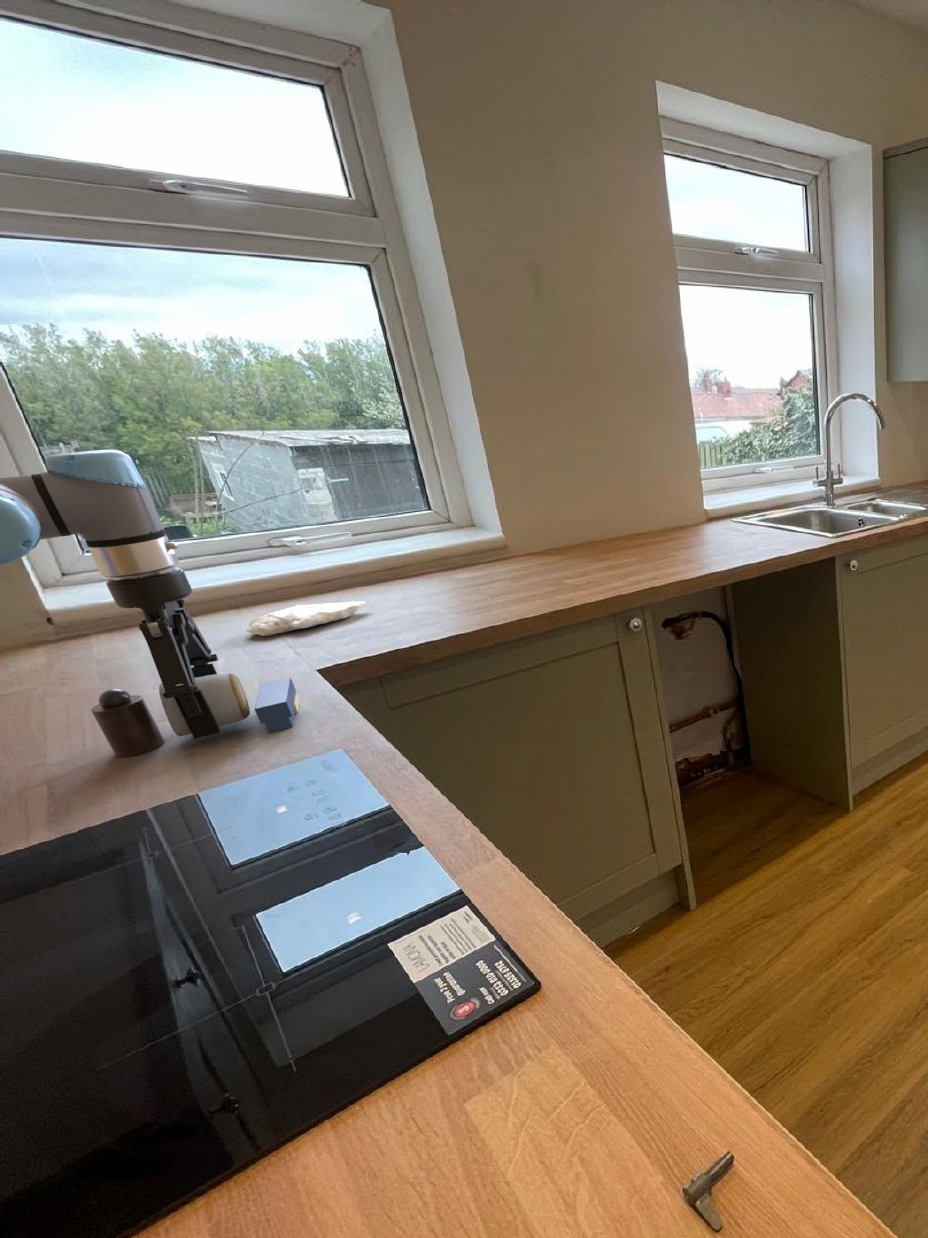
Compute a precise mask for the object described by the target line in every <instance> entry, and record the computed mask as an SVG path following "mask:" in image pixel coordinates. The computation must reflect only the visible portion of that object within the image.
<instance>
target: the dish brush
mask: <svg viewBox="0 0 928 1238" xmlns="http://www.w3.org/2000/svg"><path fill="white" fill-rule="evenodd" d="M300 702H301V700H300V697H299V694H298V692H297V689H296V688H295V685H294V681H293V680H292V677H285V678H281V679H277V680H272V681H267V682H263V683H261V684H260V688H259V691H258V694H257V699H256V702H255V706H254V711H255V714H256V717H257V718H258V720H259V723H260V725H263V724H264V725H265V727H266V730H267V732H268V733H270V734H271V733H274V732H278V731H283V730H286V729H291V728H293V727H294V722H295V715H296V714H299V708H300Z"/></svg>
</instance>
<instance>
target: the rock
mask: <svg viewBox="0 0 928 1238" xmlns="http://www.w3.org/2000/svg"><path fill="white" fill-rule="evenodd" d="M365 604H366V601H363V600H361V601H355V600H354V601H353V600H352V601H351V600H350V601H345V602H344V601H343V602H327V603H312V604H296V605H294V606H291V607H287V608H284V609H281V610H277V611H273V612H270V613H267V614H264V615H261V616H259V617H257V618H254V619H253V620H251V621H250V622H249V623H248V627H247V628H246V632H247V633H249V634H254V635H259V636H263V637H268V636H269V637H270V636H273V635H278V634H283V633H288V632H292V631H295V630H303V629H308V628H312V627H315V626H318V625H323V624H324V625H325V624H327V623H328V624H329V623H331V622H335V621H340V620H343V619H347V618H349V617H351V616H353V615H355V614H356V613H357V612H358V611H359V610H360V609H361V607H363V606H364V605H365Z"/></svg>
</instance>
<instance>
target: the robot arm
mask: <svg viewBox="0 0 928 1238" xmlns="http://www.w3.org/2000/svg"><path fill="white" fill-rule="evenodd" d="M45 463H46V466H47V467H46V470H47V471H44V472H39V473H32V474H30V475H20V476H19V475H18V476H8V477H0V565H1V566H2V565H6V564H9V563H10V564H11V563H13V562H16V561H18V560H20V559H21V558H23V557H25V556H28V554H29V553H30V552H31V551H32V550H34V549H35V548H37V546H38V544H39V543H40V541H41V540H47V539H53V538H60V537H68V536H73V535H81V536H82V538H83V539H84V542H85V544H86V547H87V548H88V550H89V553H90V555H91V557H92V559H93V561H94V563H95V565H96V568H97V569H98V572H99V573H100V575H101V576H102V577H105V578H108V579H107V582H106V583H105V585H106V587H107V588H108V590H109V593H110V595H111V597H112V599H113V601H114V604H115V605H116V606H117V607H119V608H122V609H140V610H141V611H142V614H143V617H144V618H143V619H141V623H139V624H138V629H139V630H140V631H141V633H142V636H143V638H144V639H145V641H146V643H147V646H148V647H147V648H148V649H149V651H150V655H151V657H152V660H153V663H154V665H155V668H156V671H157V673H158V676H159V679H160V681H161V683H162V684H163V687H164V689H165V693H163V696H164V698H165V699H167V698H172V697H174V699H175V701H176V703H177V705H178V707H179V709H180V711H181V713H182V715H183V717H184V719H185V721H186V723H187V725H188V727H189V729H190V731H191V733H192V734H191V735H192V738H193V739H195V740H196V739H201V738H204V737H207V736H213V735H217V734H220V733H221V729H220V726H219V727H218V724H217V722H216V720H215V718H214V716H213V714H212V712H211V710H210V707H209V705H208V703H207V701H206V699H205V697H204V695H203V693H202V691H201V689H198V687H197V686H196V683H195V679H194V678H197V677H203V676H209V675H214V674H218V673H217V670H216V667H215V666H214V664H213V663H214V662H218V661H219V658H218V655H217V653H213V654H212V649H211V648H210V647H209V645H208V643H207V641H206V640H205V638H204V636H203V635H202V633H201V631H200V629H199V627H198V626H197V624H196V622H195V620H194V619H193V617H192V614H191V613H190V611H189V610H188V607H187V605H186V601H185V599H186V598H188V597H189V596H191V595H192V593H193V589H192V587H191V584H190V581H189V580H188V578H187V576H186V573H185V571H184V570H183V568H180V567H178V566H177V565H178V564H179V563H180V561H179V559H178V556H177V554H176V553H175V550H178V548H179V545H178V543H177V542H175V541H171V542H169V537H168V536H167V532H166V530H165V527H164V524H163V522H162V520H161V518H160V516H159V513H158V511H157V509H156V506H155V504H154V501H153V499H152V497H151V494H150V492H149V490H148V488H147V485H146V483H145V482H144V480H143V478H142V476H141V474H140V472H139V470H138V469H137V466H136V465H135V463H134V461H133V459H132V457H131V456H130V455H129V454H126V453H125V452H123V451H121V450H117V449H100V450H99V449H97V450H85V451H74V452H65V453H56V454H51V455H48V456H47V457H46V458H45ZM178 684H184V685H180V686H176V685H178Z"/></svg>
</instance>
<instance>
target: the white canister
mask: <svg viewBox="0 0 928 1238" xmlns="http://www.w3.org/2000/svg"><path fill="white" fill-rule="evenodd" d="M194 679H195V683H196V686H197V687H198V689H201V691H202V693H203V695H204V697H205V699H206V701H207V703H208V705H209V707H210V710H211V712H212V714H213V716H214V718H215V720H216V722H217V724H218V727H219V728H220V727H222V726H227V725H232V724H235V723H239V722H240V721H243V720H246V719H248V718H249V716H250V714H251V710H250V705H249V701H248V699H247V695H246V692H245V690H244V687H243V685H242V684H243V683H242V682H241V680H240V678H239V677H238V675H236V674H234V673H231V672H228V673H217V674H214V675H209V676H203V677H197V678H194ZM180 685H184V684H178V685H176V686H180ZM158 693H159V698H160V701H161V705H162V708H163V711H164V713H165V715H166V718H167V721H168V723H169V725H170V728H171V729H172V731H173V732H174V734H175V735H176V736H177V737H185V736H188V735H192V733H191V731H190V729H189V727H188V725H187V723H186V721H185V719H184V717H183V715H182V713H181V711H180V709H179V707H178V705H177V703H176V701H175V699H174V697H172V698H167V699H165V698H164V696H163V693H165V689H164V687H163V684H162V682H161V683H159V685H158Z"/></svg>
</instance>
